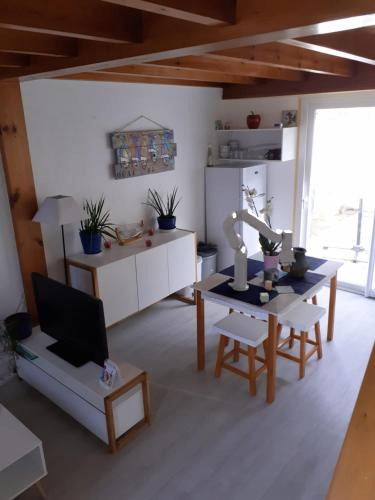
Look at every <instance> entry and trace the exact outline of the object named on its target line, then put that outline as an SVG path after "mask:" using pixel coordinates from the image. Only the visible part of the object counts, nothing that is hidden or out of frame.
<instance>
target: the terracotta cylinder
mask: <svg viewBox="0 0 375 500" xmlns="http://www.w3.org/2000/svg"><path fill="white" fill-rule="evenodd" d="M272 284H273V283H272V281H265V282H264V289H266V290H265V291H271V290H273V289H272Z"/></svg>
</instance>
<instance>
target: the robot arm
mask: <svg viewBox="0 0 375 500" xmlns="http://www.w3.org/2000/svg"><path fill="white" fill-rule="evenodd" d="M240 221H242V222H244V223H245V224H246V225H248V226H250V227H251V228H252V229H254V230H256V231H257V232H258V233H259V234H261V235H262V236H264V238H266V239H267V240H269V241H270V242H272V243H275V244H279V243H281V245H279V249H280V250H279V253H278V255H279V256H278V258H277V259H276V260H275V261H276V263H277V264H279V265H280V271H281V272H283V264H284V263H289V265H290V269H291V266H292V264H293V263H294V262H296V260H295V259H294V254H293V249H292V247H293V231H292V230H281V229H272V228H270V226H269V225H268V224H267V223H266V221H265V220H263V219H262V218H260V217H258V216H257V215H255V214H254V213H253V211H252V210H251V209H249V208H245V209H239V210H233V211H230V212H228V213H227V215H226V217H225V219H224V220H223V222H222V224H221V225H222V227H221V228H222V232H223V234H224V235H225V238H226V241H227V243H228V246H229V247H230V248H231V249H233V250H234V257H233V259H234V260H233V262H234V273H233V274H234V277H233V278H234V281H233V282H228V283H227V284H228V286H230V287H231V288H232V289H233V290H235V291H238V292H243V291H244V292H245V291H247V290H249V288H250V287H249V284H247V282H248V279H247V278H248V276H247V275H248V272H247V271H248V248H247V246H246V244H245V241H244V240H243V237H242V236H241V235H240V234H239V233H237V231H236V229H235V225H236V224H237V222H240Z"/></svg>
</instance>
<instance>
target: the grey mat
mask: <svg viewBox="0 0 375 500" xmlns="http://www.w3.org/2000/svg"><path fill="white" fill-rule="evenodd" d="M274 288H275V290H276V291H277V293H278V294H295V291H294V289H293V287H292V286H291V285H281V286H280V285H279V286H278V285H277V286H274Z"/></svg>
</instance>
